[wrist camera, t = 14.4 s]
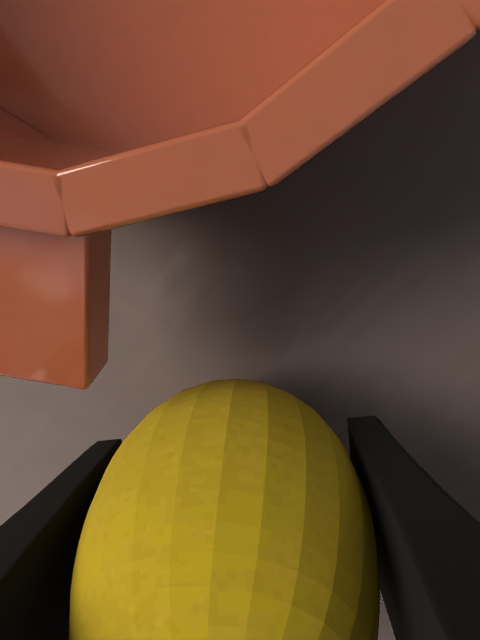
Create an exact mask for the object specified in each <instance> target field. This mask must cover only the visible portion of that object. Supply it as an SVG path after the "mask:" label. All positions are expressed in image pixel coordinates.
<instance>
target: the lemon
mask: <svg viewBox="0 0 480 640" xmlns="http://www.w3.org/2000/svg"><path fill="white" fill-rule="evenodd" d="M379 614H380V587H379V569H378V559H377V550H376V541H375V532H374V524H373V520H372V515H371V510H370V506H369V503H368V499H367V496H366V493H365V490H364V488H363V485H362V483H361V481H360V478H359V476H358V474H357V472H356V470H355V467H354V465H353V463H352V461H351V459H350V457H349V455H348V453H347V451H346V449H345V447H344V445H343V443H342V442H341V441H340V439H339V438H338V436H337V435H336V434H335V432H334V431H333V430H332V429H331V428H330V427H329V426H328V425H327V423H326V422H325V421H324V420H323V419H322V418H321V417H320V415H319V414H318V413H317V412H316V411H315V410H313V409H312V408H311V407H310V406H308V405H307V404H305V403H304V402H302V401H301V400H299V399H298V398H296V397H295V396H293V395H292V394H290V393H288V392H286V391H284V390H281V389H278V388H276V387H273V386H270V385H268V384H265V383H262V382H255V381H249V380H242V379H230V380H218V381H211V382H207V383H204V384H201V385H198V386H194V387H191V388H188V389H185V390H183V391H181V392H180V393H178V394H176V395H175V396H173V397H171V398H170V399H168V400H166V401H165V402H163V403H162V404H160V405H158V406H157V407H155V408H154V409H153V410H152V411H151V412H150V413H148V414H147V415H146V416H145V418H144V419H143V420H142V421H141V422H140V423H139V424H138V425H137V426H136V428H135V429H134V430H133V431H132V432H131V433H130V434H129V435H128V437H127V438H126V439H125V440H124V441H123V443H122V444H121V445H120V447H119V448H118V450H117V451H116V453H115V454H114V456H113V457H112V459H111V461H110V463H109V465H108V467H107V468H106V470H105V473H104V475H103V477H102V480H101V482H100V484H99V487H98V489H97V491H96V494H95V496H94V498H93V501H92V503H91V505H90V508H89V510H88V513H87V516H86V519H85V522H84V525H83V528H82V532H81V536H80V540H79V544H78V548H77V553H76V558H75V563H74V568H73V576H72V584H71V591H70V617H69V640H377V639H378V628H379Z"/></svg>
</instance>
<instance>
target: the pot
mask: <svg viewBox="0 0 480 640" xmlns="http://www.w3.org/2000/svg"><path fill="white" fill-rule="evenodd" d="M479 30H480V0H0V375H2V376H8V377H14V378H20V379H26V380H32V381H38V382H44V383H50V384H56V385H62V386H68V387H74V388H80V389H87V388H88V387H89V386H90V384H91V383H92V382H93V380H94V379H95V378H96V376H97V375H98V374H99V372H100V371H101V370H102V368H103V367H104V365H105V364H106V363H107V361H108V332H109V295H110V259H111V229H114V228H118V227H122V226H126V225H130V224H134V223H138V222H142V221H146V220H150V219H154V218H158V217H162V216H166V215H170V214H174V213H178V212H182V211H186V210H190V209H194V208H198V207H203V206H207V205H211V204H215V203H219V202H223V201H227V200H231V199H235V198H239V197H243V196H247V195H251V194H255V193H259V192H263V191H264V190H265V189H267V185H268V186H269V187H272V186H275V185H277V184H278V183H280V182H281V181H282V180H284V179H285V178H286V177H288V176H289V175H290V174H292V173H293V172H294V171H296V170H297V169H298V168H300V167H301V166H302V165H304V164H305V163H306V162H308V161H309V160H310V159H312V158H313V157H315V156H316V155H317V154H319V153H320V152H321V151H323V150H324V149H325V148H327V147H328V146H329V145H331V144H332V143H333V142H335V141H336V140H337V139H339V138H340V137H341V136H343V135H344V134H346V133H347V132H348V131H350V130H351V129H352V128H354V127H355V126H356V125H358V124H359V123H360V122H362V121H363V120H364V119H366V118H367V117H368V116H370V115H371V114H372V113H374V112H375V111H376V110H378V109H379V108H381V107H382V106H383V105H385V104H386V103H387V102H389V101H390V100H391V99H393V98H394V97H395V96H397V95H398V94H399V93H401V92H402V91H403V90H405V89H406V88H407V87H409V86H410V85H412V84H413V83H414V82H416V81H417V80H418V79H420V78H421V77H422V76H424V75H425V74H426V73H428V72H429V71H430V70H432V69H433V68H434V67H436V66H437V65H438V64H440V63H441V62H442V61H444V60H445V59H447V58H448V57H449V56H451V55H452V54H453V53H455V52H456V51H457V50H459V49H460V48H461V47H463V46H464V45H465V44H467V43H468V42H469V41H471V40H472V38H473V37H474V35H475V34H476V32H477V31H479Z"/></svg>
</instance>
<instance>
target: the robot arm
mask: <svg viewBox="0 0 480 640" xmlns="http://www.w3.org/2000/svg"><path fill="white" fill-rule="evenodd" d="M347 421H348V433H349V446H350V459H351V461H352V463H353V465H354V467H355V470H356V472H357V474H358V476H359V478H360V481H361V483H362V485H363V488H364V490H365V493H366V496H367V499H368V503H369V506H370V510H371V515H372V520H373V524H374V532H375V541H376V550H377V559H378V569H379V587H380V590H381V593H382V596H383V600H384V603H385V606H386V609H387V612H388V615H389V619H390V622H391V625H392V628H393V631H394V635H395V638H396V640H480V523H479V522H478V521H477V520H476V519H475V518H473V517H472V516H471V515H470V514H469V513H468V512H467V511H466V510H465V509H464V508H462V507H461V506H460V505H459V504H458V503H457V502H456V501H455V500H454V499H453V498H451V497H450V496H449V495H448V494H447V493H446V492H445V491H444V490H443V489H442V488H441V487H440V486H439V485H438V484H437V483H436V482H435V481H434V480H433V479H432V478H431V477H430V476H429V475H428V474H427V473H426V472H425V471H424V470H423V469H422V468H421V467H420V466H419V465H418V464H417V463H416V462H415V461H414V459H413V458H412V457H411V456H410V455H409V454H408V453H407V452H406V451H405V450H404V448H403V447H402V446H401V445H400V444H399V443H398V442H397V441H396V439H395V438H394V437H393V436H392V435H391V434H390V432H389V431H388V430H387V429H386V427H385V426H384V425H383V424H382V422H381V421H380V420H379V419H378V418H377V417H375V416H364V417H354V418H347ZM121 444H122V441H121V439H115V440H105V441H97V442H96V443H95V444H94V445H92V446H91V447H90V448H89V449H88V450H86V451H85V452H84V453H83V454H82V455H81V456H80V457H78V458H77V459H76V460H75V461H74V462H73V463H72V464H71V465H70V466H68V467H67V468H66V469H65V470H64V471H63V472H62V473H61V474H60V475H59V476H57V477H56V478H55V479H54V480H53V481H52V482H51V483H50V484H48V485H47V486H46V487H45V488H44V489H43V490H42V491H41V492H40V493H38V494H37V495H36V496H35V497H34V498H33V499H32V500H31V501H29V502H28V503H27V504H26V505H25V506H24V507H23V508H21V509H20V510H19V511H18V512H17V513H15V514H14V515H13V516H12V517H11V518H9V519H8V520H7V521H6V522H5V523H3V524H2V525H1V526H0V640H69V617H70V591H71V584H72V576H73V568H74V563H75V558H76V553H77V548H78V544H79V540H80V536H81V532H82V528H83V525H84V522H85V519H86V516H87V513H88V510H89V508H90V505H91V503H92V501H93V498H94V496H95V494H96V491H97V489H98V487H99V484H100V482H101V480H102V477H103V475H104V473H105V470H106V468H107V467H108V465H109V463H110V461H111V459H112V457H113V456H114V454H115V453H116V451H117V450H118V448H119V447H120V445H121Z"/></svg>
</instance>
